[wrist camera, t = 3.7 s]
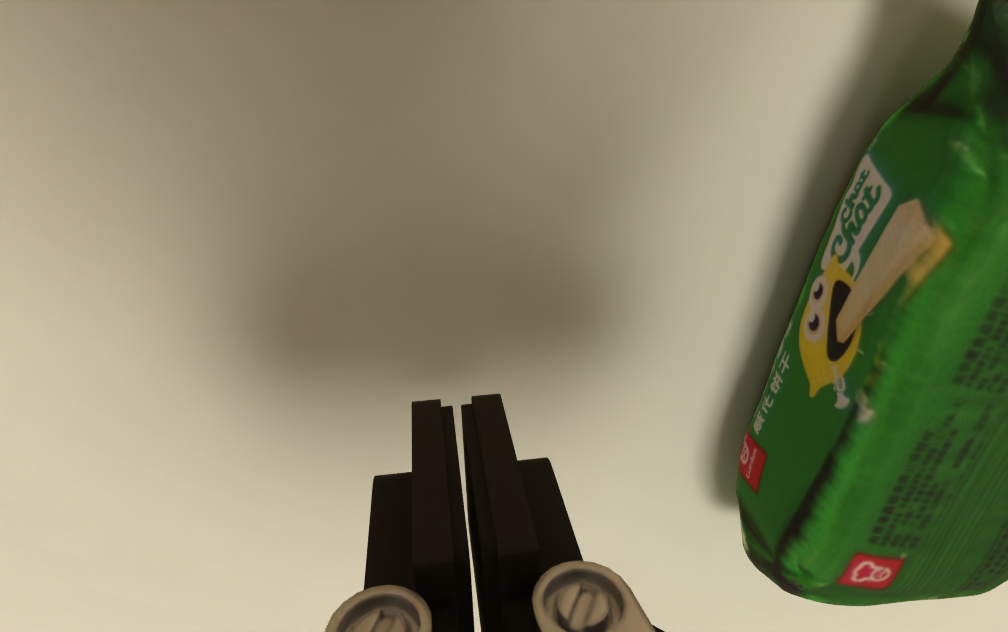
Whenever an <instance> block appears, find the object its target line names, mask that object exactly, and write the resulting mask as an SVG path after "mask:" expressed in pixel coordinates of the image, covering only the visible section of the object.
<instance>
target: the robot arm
mask: <svg viewBox="0 0 1008 632" xmlns="http://www.w3.org/2000/svg"><path fill="white" fill-rule="evenodd" d="M461 411H462V428H463V444H464V460H465V476H466V493H467V509H468V523H469V533H470V542H471V550H472V558H473V567H474V575H475V583H476V592H477V600H478V608H479V617H480V625H481V632H664V631H662V630H660V629H659V628H657V627H655V626H653V625H652V624H651V622H650V621H649V619H648V617H647V616H646V614H645V612H644V611H643V609H642V607H641V606H640V604H639V602H638V601H637V599H636V597H635V596H634V594H633V592H632V591H631V589H630V587H629V586H628V585H627V584H626V582H625V581H624V580H623V579H622V578H621V576H619V575H618V574H616V573H615V572H614V571H612V570H611V569H609V568H607V567H605V566H602V565H599V564H597V563H594V562H587V561H583V559H582V556H581V553H580V550H579V547H578V544H577V541H576V538H575V535H574V532H573V529H572V526H571V523H570V520H569V517H568V514H567V511H566V508H565V505H564V502H563V499H562V496H561V493H560V490H559V487H558V483H557V480H556V477H555V474H554V471H553V468H552V465H551V463H550V461H549V459H548V458H538V459H528V460H519V461H517V458H516V454H515V450H514V446H513V442H512V438H511V434H510V430H509V426H508V422H507V418H506V414H505V411H504V407H503V403H502V399H501V395H500V394H491V395H480V396H472V404H465V405H461ZM325 632H474V617H473V601H472V585H471V570H470V558H469V547H468V538H467V529H466V521H465V512H464V503H463V494H462V486H461V477H460V468H459V460H458V451H457V442H456V433H455V425H454V416H453V407H452V406H444V407H441V401H440V399H438V400H427V401H416V402H412V472H407V473H397V474H388V475H379V476H375V477H374V480H373V489H372V500H371V512H370V524H369V536H368V548H367V559H366V571H365V583H364V590H363V591H361V592H358V593H356V594H355V595H353V596H352V597H350V598H349V599H347V600H346V601H344V602H343V603H342V604H341V606H340V607H339V608H338V609H337V610H336V611H335V612H334V613H333V615H332V617H331V619H330V621H329V623H328V625H327V627H326V629H325Z"/></svg>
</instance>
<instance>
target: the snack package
mask: <svg viewBox="0 0 1008 632" xmlns="http://www.w3.org/2000/svg"><path fill="white" fill-rule="evenodd" d="M736 494H737V498H738V503H739V510H740V520H741V531H742V540H743V546H744V549H745V552H746V554H747V556H748V557H749V559H750V560H751V562H752V563H753V564H754V566H755V567H756V568H757V569H758V570H759V571H760V572H762V573H763V574H765V575H766V576H767V577H768V578H769V579H771V580H772V581H773V582H774V583H775V584H777V585H778V586H779V587H780V588H781V589H783V590H784V591H786V592H788V593H790V594H793V595H796V596H799V597H802V598H805V599H809V600H813V601H817V602H821V603H827V604H833V605H845V606H870V605H880V604H888V603H897V602H905V601H915V600H928V599H945V598H954V597H964V596H973V595H979V594H982V593H985V592H988V591H990V590H992V589H994V588H996V587H997V586H999V585H1000V584H1002V583H1004V582H1005V581H1007V580H1008V0H979V1H978V4H977V8H976V11H975V14H974V17H973V20H972V23H971V25H970V28H969V30H968V32H967V34H966V37H965V39H964V41H963V42H962V44H961V46H960V47H959V49H958V51H957V52H956V54H955V56H954V57H953V59H952V60H951V61H950V62H949V63H948V65H947V66H946V67H945V68H944V69H943V70H942V71H941V72H940V73H939V74H938V75H937V76H936V77H935V78H933V79H932V80H931V81H930V82H929V83H928V84H927V85H926V86H925V87H923V88H922V89H921V90H920V91H919V92H918V93H917V94H916V95H915V96H914V97H912V98H911V99H910V100H909V101H908V102H907V103H906V104H904V105H903V106H902V107H901V108H900V109H899V110H897V111H896V112H895V113H894V114H893V115H892V116H891V117H889V119H888V120H887V121H886V122H885V124H884V125H883V126H882V127H881V129H880V130H879V132H878V133H877V135H876V136H875V137H874V139H873V140H872V142H871V143H870V145H869V146H868V148H867V149H866V151H865V153H864V154H863V156H862V158H861V160H860V162H859V164H858V166H857V168H856V170H855V172H854V174H853V176H852V178H851V180H850V182H849V184H848V186H847V189H846V191H845V193H844V194H843V196H842V198H841V200H840V202H839V204H838V206H837V208H836V210H835V212H834V215H833V217H832V220H831V222H830V225H829V227H828V229H827V231H826V233H825V235H824V238H823V240H822V242H821V244H820V247H819V249H818V252H817V254H816V256H815V259H814V262H813V264H812V267H811V269H810V272H809V275H808V277H807V280H806V282H805V285H804V287H803V290H802V292H801V295H800V297H799V300H798V302H797V305H796V307H795V310H794V312H793V315H792V317H791V320H790V322H789V325H788V327H787V330H786V332H785V335H784V337H783V339H782V342H781V344H780V347H779V350H778V352H777V355H776V358H775V361H774V364H773V367H772V370H771V373H770V376H769V379H768V382H767V384H766V387H765V390H764V393H763V395H762V398H761V400H760V403H759V405H758V408H757V410H756V412H755V415H754V417H753V419H752V421H751V424H750V426H749V428H748V430H747V433H746V435H745V438H744V441H743V445H742V448H741V452H740V456H739V470H738V478H737V489H736Z"/></svg>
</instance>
